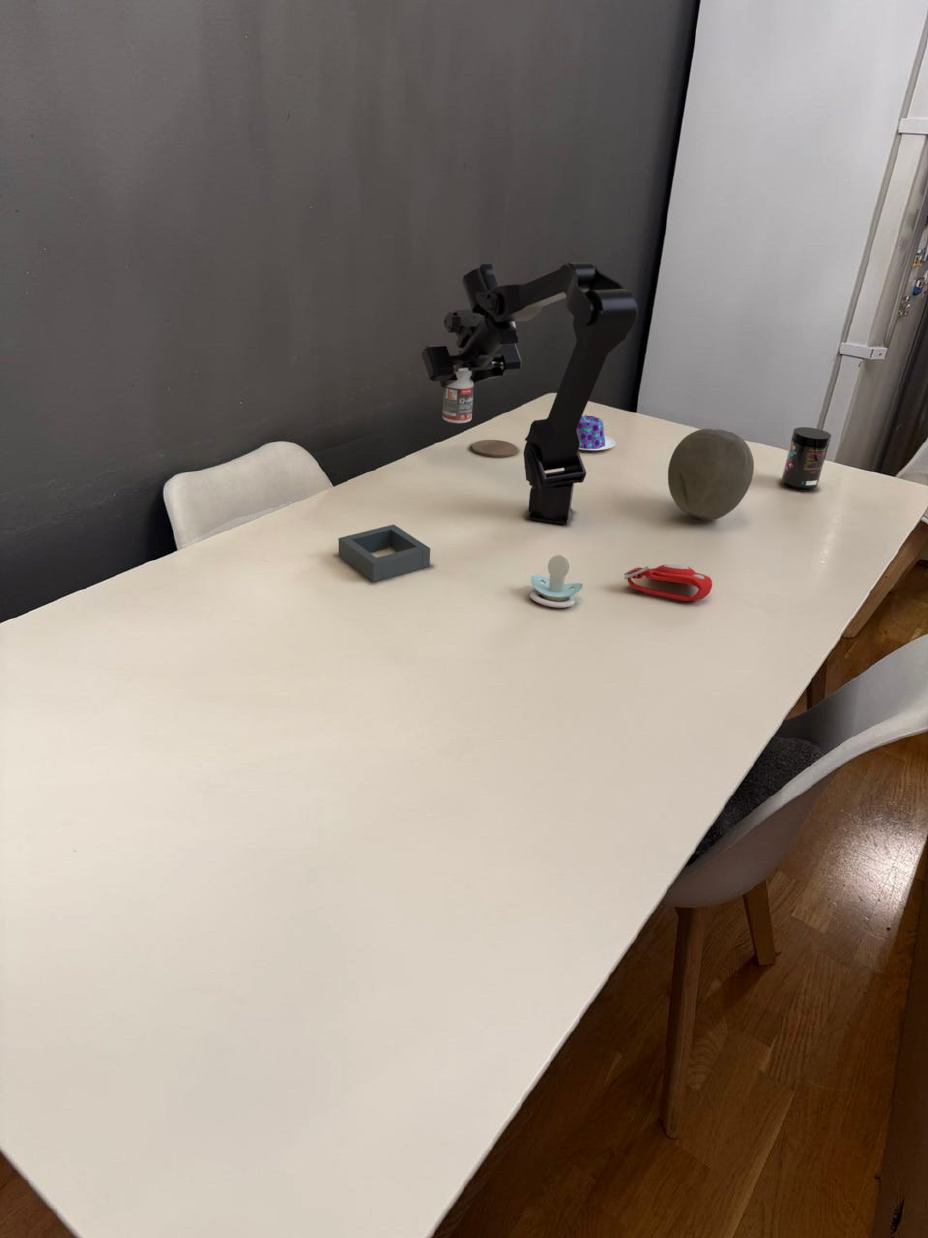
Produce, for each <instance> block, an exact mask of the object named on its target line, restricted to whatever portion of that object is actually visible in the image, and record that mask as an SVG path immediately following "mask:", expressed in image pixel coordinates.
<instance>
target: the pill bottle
mask: <svg viewBox="0 0 928 1238" xmlns="http://www.w3.org/2000/svg"><path fill="white" fill-rule="evenodd" d="M471 375H472V371H468V368H467V369H459V370H458V372H457V373H456V376H457V379H458V380H457V381H455V382H453V383H451V384H450V385H448V386H446V387H443V392H442V393H443V396H442V419H443V420H444V421H446V422H447V423H453V424H465V423H468V422H470V421H471V420H472V419H473V405H474V388H475V384H474V383H473V381H472V380H471V379H470V376H471Z"/></svg>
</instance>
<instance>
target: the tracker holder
mask: <svg viewBox="0 0 928 1238" xmlns="http://www.w3.org/2000/svg"><path fill="white" fill-rule="evenodd" d="M623 575H624V577H623V578H624V580H626V581H627V582H628V584H629V586H630V587H632V588H633V589H635V590H638V591H639V592H642V593H645V594H649V595H653V596H657V597H662V598H668V599H672V600H677V601H682V602H689V601H690V602H692V601H700V600H703V599H704V598H706V597H707V596H708V595H709V594H710V592H711V591H712V588H713V580H712V579H711V576H708V575H706V574H702V573H699V572H696V571H695V570H694V569H692V568H691V567H689V566H685V565H681V564H680V565H679V564H661V565H659V566H657V567H654V568H653V567H651V565H647V566H645V567H634V568H632V569H630V570H627V571H626V572H624V573H623ZM643 577H645V578H647V579H651V580H655V581H662V582H670V583H679V584H686V585H691V586H693V587H695V588H697V589H698V590H697V591H696V592H695V594H693V595H685V594H681V593H675V592H671V591H666V590H665V591H664V590H660V589H656V588H650V587H645V586H643V585H640V584H638V583H635V581H633V580H632V579H634V580H641V579H643Z"/></svg>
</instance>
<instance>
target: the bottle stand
mask: <svg viewBox="0 0 928 1238" xmlns="http://www.w3.org/2000/svg"><path fill="white" fill-rule="evenodd" d="M337 540H338V557H339V558H341V559H342V560H343V561H345V562H346V563H347V564H349V566H351V567H352V568H354V569H355V570H357V571H358V572H359V573H361V575H363V576H364V577H366V578H367V579H369V580H370V581H371V582H372V583H377V582H379V581H383V580H386V579H390V578H393V577H397V576H401V575H404V574H408V573H411V572H415V571H418V570H421V569H426V568H428V567H430V565H431V548H430V546H428V545H426V543H423V542H421V541H420V540H419V539H417V538H415V537H414V536H412V535H411V534H409V533H408V532H406V531H405V530H403V529H402V528H400V527H398V526H397V525H396V524H389V525H386V526H382V527H378V528H374V529H369V530H365V531H361V532H357V533H353V534H348V535H344V536H341V537H338V539H337ZM389 548H392V549H393V550H394V551H396V552H392V553H389V554H385V555H382V556H378V557H377V556H375V555H374V554H372V553H374V552H378V551H382V550H385V549H389Z"/></svg>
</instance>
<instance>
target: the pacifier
mask: <svg viewBox="0 0 928 1238" xmlns="http://www.w3.org/2000/svg"><path fill="white" fill-rule="evenodd" d="M547 571H548V573H549V577H546V576H543V575H541V574H537V573H535V574H532V575H531V577H530V583H531V585H532V587H533V589H534V590H532V591H530V593H529V597H530V599H531V600H532V601H534V602H536V603H537V604H540V605H543V606H546V607H551V608H570V607H572V606H574V605H575V603H576V600H575V599H574V598H573V596H574V595H576V594H578V593H579V592H580V591H582V589H583V584H582V583H580V582H574V583H565V582H566V576H567V575H568V573H569V571H570V562H569V560H568V558H567V557H566V556H565V555H562V554H557V555H553V556H552V557H551V558H550V559H549V561H548V564H547ZM540 595H542V597H543V598H542V597H540Z"/></svg>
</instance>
